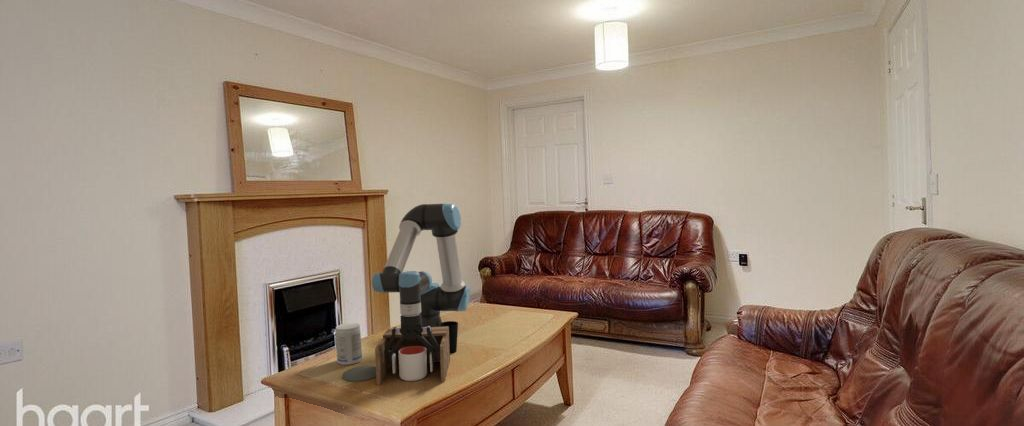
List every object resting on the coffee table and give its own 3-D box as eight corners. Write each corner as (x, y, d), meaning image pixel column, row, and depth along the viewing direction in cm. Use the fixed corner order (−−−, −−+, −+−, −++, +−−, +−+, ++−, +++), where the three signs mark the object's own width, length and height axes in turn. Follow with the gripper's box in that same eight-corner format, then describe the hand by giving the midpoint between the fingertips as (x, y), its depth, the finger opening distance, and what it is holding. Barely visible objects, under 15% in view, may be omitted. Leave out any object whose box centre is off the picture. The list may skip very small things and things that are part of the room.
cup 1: (401, 372, 184) (400, 346, 184) (428, 371, 185) (427, 345, 185) (397, 383, 174) (396, 355, 174) (426, 381, 175) (424, 353, 175)
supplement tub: (360, 356, 205) (358, 321, 204) (363, 362, 196) (362, 326, 196) (335, 360, 201) (334, 324, 200) (338, 367, 192) (336, 330, 192)
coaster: (348, 368, 191) (348, 366, 191) (385, 366, 191) (384, 365, 191) (337, 382, 177) (337, 380, 177) (376, 380, 177) (376, 379, 177)
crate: (389, 363, 195) (388, 328, 195) (450, 360, 196) (448, 325, 195) (376, 384, 173) (374, 345, 173) (444, 381, 174) (443, 343, 173)
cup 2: (455, 354, 203) (454, 326, 202) (438, 354, 204) (437, 325, 203) (461, 348, 210) (460, 321, 209) (444, 348, 212) (443, 320, 211)
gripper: (373, 318, 174) (376, 376, 175) (444, 315, 175) (446, 373, 176) (378, 312, 182) (381, 369, 183) (446, 310, 183) (448, 366, 184)
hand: (413, 371), depth 179 cm, fingers open, 13 cm apart
